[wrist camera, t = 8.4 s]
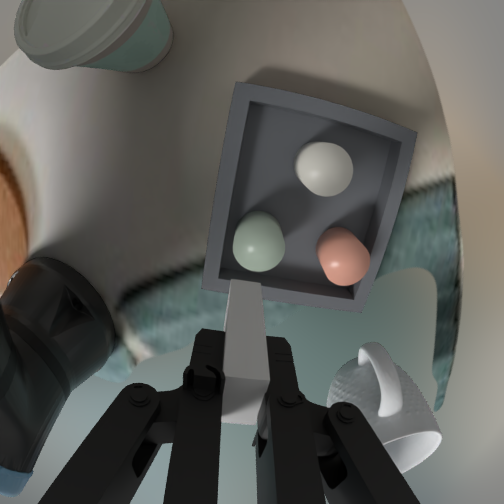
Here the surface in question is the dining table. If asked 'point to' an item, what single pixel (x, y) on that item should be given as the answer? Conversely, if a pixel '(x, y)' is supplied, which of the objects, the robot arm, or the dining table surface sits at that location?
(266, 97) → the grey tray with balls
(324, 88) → the dining table surface
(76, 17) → the coffee cup
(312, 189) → the button ivory
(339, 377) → the mug
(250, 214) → the button sage
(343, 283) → the button coral
